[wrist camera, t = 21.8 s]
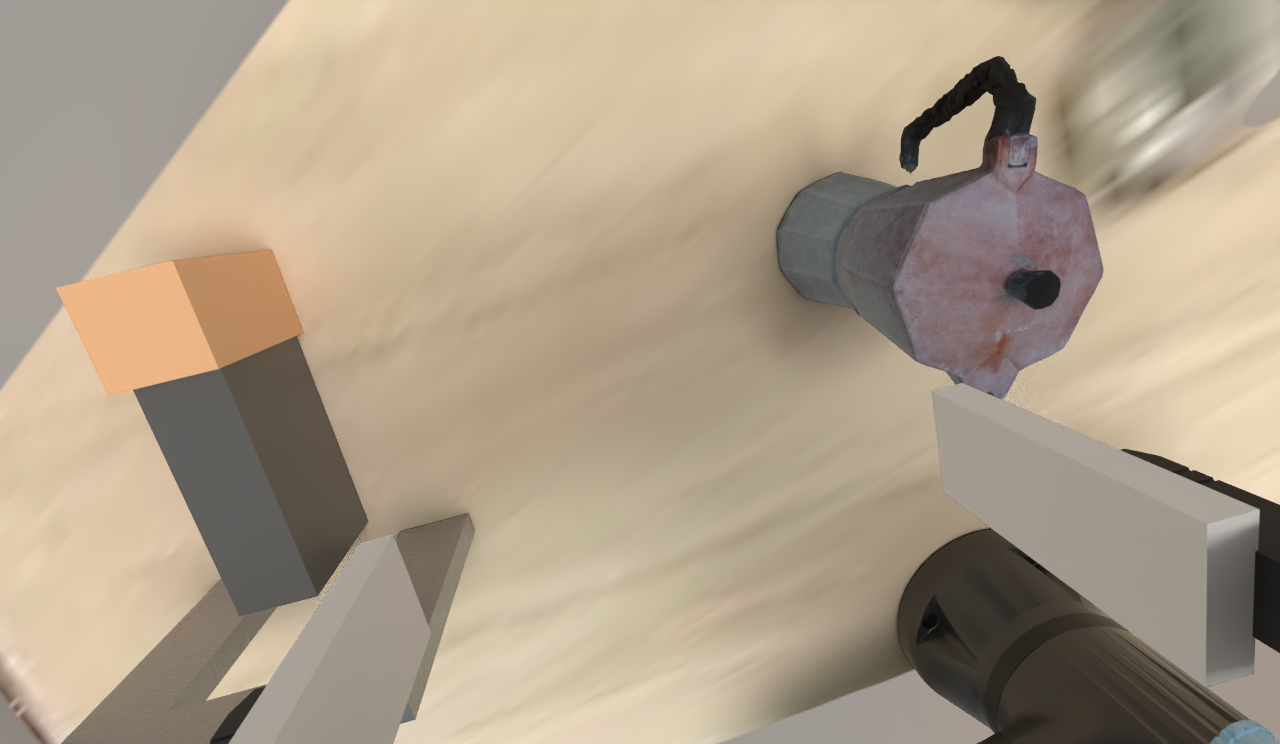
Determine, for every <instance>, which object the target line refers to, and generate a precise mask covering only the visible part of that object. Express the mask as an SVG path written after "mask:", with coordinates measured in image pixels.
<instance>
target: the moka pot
mask: <svg viewBox="0 0 1280 744" xmlns="http://www.w3.org/2000/svg"><path fill="white" fill-rule="evenodd" d="M987 91H988V93H990V94H992V95H993V102H994V105H995V106H996V108H995V113H994V117H993V121H992V125H991V128H990V130H989V132H988V134H987V136H986V138H985V142H984V147H983V162H982V164H981V166H980V167H979V168H976V169H972V170H968V171H963V172H959V173H955V174H951V175H947V176H943V177H938V178H933V179H930V180H924V181H921V182H916V183H915V184H914V185H913V186H909V185H904V186H900V187H895V186H893V185H889V184H887V183H884V182H880V181H876V180H872V179H869V178H864V177H859V176H855V175H850V174H845V173H842V172H838V173H835V174H833V175H830V176H828V177H825V178H824V179H821V180H819V181H817V182H815V183H813V184H811V185H810V186H808V187H807V188H805V189H804V190H802V191H801V192H800V193H799V194H798V195H797V197H796V198H795V199H794V201H793V202H792V204H791V206H790V207H789V209H788V211H787V212H786V214H785V216H784V218H783V220H782V222H781V224H780V225H779V228H778V236H777V246H778V256H779V260H778V262H779V265H780V268H781V271H782V272H783V274H784V275H785V277H786V279H787V280H788V281H789V282H790V283H791V284H792V286H793V287H794V288H795V289H796V291H797V292H798V293H799V294H800V295H802V296H803V297H804V298H805V299H809V300H813V301H818V302H823V303H828V304H833V305H839V306H844V307H849V308H853V309H854V310H855V311H856V312H857V314H858V315H859V316H861V317H863V318H864V319H865V320H866V321H867V322H869V323H870V324H871V325H872V326H874V327H875V328H876V329H877V330H878V331H880V332H881V333H882V334H883V335H884V336H886V337H887V338H888V339H889V340H891V341H892V342H893V343H894V344H896V345H897V346H898V347H899V348H901V349H902V350H903V351H904V352H905V353H907V354H908V355H909V356H910V357H911V358H912V359H914V360H915V361H917V362H919V363H921V364H924V365H927V366H930V367H933V368H936V369H939V370H943V371H946V372H947V373H948V375H949V376H950V377H951V379H952V380H953V382H954V383H955V385H956V384H960V383H963V384H966V385H968V386H971V387H973V388H975V389H978V390H980V391H982V392H985V393H987V394H989V395H992V396H994V397H996V398H999V399H1001V400H1002V399H1003V398H1005V396H1006V394H1007V393H1008V391H1009V389H1010V387H1011V385H1012V384H1013V382H1014V380H1015V378H1016V376H1017V374H1018V372H1019V371H1020V370H1022V369H1023V368H1025V367H1027V366H1029V365H1031V364H1033V363H1036V362H1038V361H1040V360H1042V359H1045V358H1047V357H1049V356H1050V355H1052V354H1054V353H1056V352H1058V351H1060V350H1061V349H1063V347H1064V346H1065V344H1066V343H1067V341H1068V340H1069V338H1070V336H1071V334H1072V333H1073V331H1074V329H1075V327H1076V325H1077V323H1078V321H1079V319H1080V317H1081V315H1082V313H1083V311H1084V309H1085V307H1086V305H1087V304H1088V302H1089V300H1090V298H1091V297H1092V295H1093V293H1094V291H1095V289H1096V287H1097V285H1098V283H1099V282H1100V280H1101V278H1102V274H1103V265H1102V261H1101V256H1100V252H1099V247H1098V243H1097V239H1096V235H1095V230H1094V226H1093V222H1092V218H1091V214H1090V210H1089V206H1088V202H1087V199H1086V196H1085V194H1083V193H1082V192H1080V191H1079V190H1077V189H1076V188H1073V187H1071V186H1068V185H1065V184H1063V183H1060V182H1058V181H1056V180H1054V179H1050V178H1048V177H1046V176H1044V175H1042V174H1040V173H1038V172H1036V171H1034V170H1035V166H1036V159H1037V145H1038V143H1037V137H1036V136H1033V135H1030V134H1029V132H1030V127H1031V123H1032V119H1033V115H1034V111H1035V105H1036V98H1035V97H1034V96H1032V95H1031V94H1029V93H1028V91H1027V90H1026V88H1025V84H1023V83H1018V82H1017V78H1016V74H1015V72H1014V70H1013V69H1011V68H1010V65H1009V64H1008V63H1007V62H1006V61H1005V59H1004V58H1003V57H1000V56H996V57H994V58H992V59H990V60H988V61H986V62H983V63H981V64H979V65H978V66H976V67H974V68H973V70H972V71H971V72H970V73H969V74H966V75H965V77H964V78H963V79H961V80H960V81H959V82H958V83H957V84H956V85H955V86H954V88H953V89H952V90H950V91H949V92H948V93H947V94H945V95H943V97H942V98H940V99H939V100H938V101H937V102H936V103H935V105H934V106H933V107H932V108H929V109H927V110H925V111H924V112H923V114H922V115H921V116H920V117H917V118H916V119H915V120H914V121H913V122H912V123H910V124H909V125H908V126H906V127H905V128H904V130H903V133H902V137H901V153H900V158H899V160H900V162H901V167H902V168H903V169H906V171H908V172H909V173H911V172H913V171H914V170H915V169H916V167H917V166H918V155H919V145H920V142H921V140H922V139H924V138H926V136H927V135H928V134H929V133H930V132H931V130H932V129H933V128H934V127H938V126H940V125H942V124H944V123H945V122H947V121H950V119H951V118H952V116H954V115H956V114H958V113H959V112H961V111H962V110H963V109H964V108H965V107H966V106H971V105H972V104H973V103H974V102H975V101H976V100H978V99H979V98H980V97H981V96H982V95H983V94H984V93H985V92H987Z"/></svg>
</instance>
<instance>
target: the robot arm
mask: <svg viewBox="0 0 1280 744" xmlns="http://www.w3.org/2000/svg"><path fill="white" fill-rule="evenodd" d="M932 397H933V405H934V414H935V423H936V431H937V440H938V449H939V457H940V466H941V474H942V483H943V492H944V493H945V494H946V495H947V496H949V497H950V498H951V499H953V500H954V501H955V502H957V503H958V504H959V505H961V506H962V507H963V508H965V509H966V510H967V511H969V512H970V513H971V514H973V515H974V516H975V517H977V518H978V519H979V520H981V521H982V522H984V523H985V524H986V525H988V526H989V527H990V528H992V529H990V530H984V531H979V532H976V533H972V534H969V535H966V536H964V537H962V538H959V539H957V540H955V541H953V542H952V543H950V544H948V545H947V546H945V547H944V548H942V549H941V550H939V551H938V552H937V553H935V554H934V555H933V556H932V557H931V558H930V559H929V560H928V561H927V562H926V563H925V564H924V565H923V566H922V567H921V568H920V569H919V571H918V572H917V573H916V575H915V576H914V577H913V579H912V581H911V582H910V584H909V586H908V588H907V590H906V592H905V594H904V596H903V599H902V602H901V606H900V610H899V615H898V635H899V640H900V644H901V647H902V650H903V652H904V654H905V656H906V657H907V659H908V660H909V662H910V663H911V665H912V666H913V667H914V669H915V670H916V671H917V672H918V674H919V675H920V676H921V678H922V679H923V680H924V681H925V682H926V683H927V684H928V685H929V686H930V687H931V688H932V689H933V690H934V691H935V692H937V693H938V694H939V695H941V696H942V697H944V698H945V699H947V700H949V701H950V702H951V703H953V704H954V705H956V706H957V707H959V708H961V709H962V710H963V711H965V712H966V713H968V714H970V715H971V716H972V717H974V718H976V719H977V720H978V721H980V722H982V723H983V724H984V725H986V726H987V727H989V728H990V729H992V731H993V732H994V733H995V734H994V735H992V736H990V737H989V738H987V739H985V740H983V741H982V742H979V743H977V744H1279V742H1278V740H1277V739H1275V737H1274V736H1273V735H1272V733H1270V731H1269V730H1267V729H1266V728H1265V727H1263V726H1261V725H1260V724H1258V723H1257V722H1255V721H1252V720H1250V719H1248V718H1247V717H1246V716H1244V715H1243V714H1242V713H1240V712H1239V711H1237V710H1236V709H1234V708H1233V707H1232V706H1231V705H1229V704H1228V703H1226V702H1225V701H1223V700H1222V699H1221V698H1220V697H1218V696H1217V695H1216V694H1214V693H1213V692H1211V691H1210V690H1209V689H1207V688H1206V687H1210V686H1213V685H1217V684H1220V683H1223V682H1227V681H1230V680H1234V679H1237V678H1241V677H1244V676H1247V675H1251V674H1254V655H1255V638H1256V639H1258V640H1260V641H1261V642H1263V643H1264V644H1266V645H1268V646H1269V647H1271V648H1273V649H1274V650H1276V651H1277V652H1279V653H1280V505H1279V504H1276V503H1274V502H1271V501H1269V500H1266V499H1264V498H1261V497H1259V496H1257V495H1254V494H1252V493H1249V492H1247V491H1244V490H1242V489H1239V488H1237V487H1234V486H1232V485H1230V484H1227V483H1225V482H1222V481H1220V480H1218V481H1214V480H1213V478H1212V477H1210V476H1207V475H1205V474H1203V473H1200V472H1198V471H1195V470H1193V471H1190V470H1189V468H1188V467H1185V466H1183V465H1180V464H1178V463H1175V462H1173V461H1171V460H1168V459H1166V458H1163V457H1161V456H1157V455H1152V454H1147V453H1143V452H1138V451H1133V450H1128V449H1122V450H1119V449H1116V448H1114V447H1112V446H1109V445H1107V444H1105V443H1102V442H1100V441H1097V440H1095V439H1093V438H1090V437H1088V436H1086V435H1083V434H1081V433H1079V432H1076V431H1074V430H1072V429H1069V428H1067V427H1065V426H1062V425H1060V424H1058V423H1055V422H1053V421H1050V420H1048V419H1046V418H1043V417H1041V416H1039V415H1036V414H1034V413H1032V412H1029V411H1027V410H1025V409H1022V408H1020V407H1018V406H1015V405H1013V404H1010V403H1008V402H1006V401H1003V400H1001V399H999V398H996V397H994V396H992V395H989V394H987V393H985V392H982V391H980V390H978V389H975V388H973V387H971V386H968V385H966V384H963V383H960V384H956V385H952V386H948V387H945V388H941V389H937V390H933V391H932ZM1115 620H1116V621H1117V622H1118V623H1119V624H1118V623H1117V622H1116V621H1115ZM1120 624H1121V625H1122V626H1121V625H1120ZM1124 627H1125V628H1126V629H1125V628H1124ZM1128 630H1129V631H1130V632H1129V631H1128ZM1132 633H1133V634H1134V635H1133V634H1132ZM430 635H431V631H430V628H429V626H428V623H427V621H426V618H425V616H424V613H423V610H422V608H421V605H420V603H419V600H418V597H417V595H416V592H415V590H414V587H413V585H412V582H411V579H410V577H409V574H408V572H407V569H406V566H405V564H404V561H403V559H402V556H401V554H400V551H399V548H398V546H397V543H396V541H395V538H394V535H393V534H391V535H388V536H384V537H380V538H376V539H373V540H369V541H365V542H361V543H360V544H359V545H358V547H357V548H356V550H355V552H354V553H353V555H352V556H351V558H350V559H349V561H348V562H347V564H346V565H345V567H344V568H343V570H342V571H341V573H340V574H339V576H338V577H337V579H336V581H335V582H334V584H333V585H332V587H331V588H330V590H329V591H328V593H327V594H326V596H325V597H324V599H323V600H322V602H321V603H320V605H319V606H318V608H317V609H316V611H315V613H314V614H313V616H312V617H311V619H310V620H309V622H308V623H307V625H306V626H305V628H304V629H303V631H302V632H301V634H300V635H299V637H298V638H297V640H296V642H295V643H294V645H293V646H292V648H291V649H290V651H289V652H288V654H287V655H286V657H285V658H284V660H283V661H282V663H281V664H280V666H279V667H278V669H277V670H276V672H275V674H274V675H273V677H272V678H271V680H270V681H269V683H268V684H267V686H264V687H260V688H257V689H254V690H253V691H252V692H251V693H250V694H249V695H248V696H247V697H246V698H245V699H244V700H243V701H242V702H241V703H240V704H239V705H237V706H236V707H235V708H234V709H233V710H232V711H231V712H230V713H229V714H228V715H227V717H226V718H225V719H224V721H223V722H222V724H221V725H220V727H219V728H218V730H217V731H216V732H215V734H214V735H213V737H212V738H211V740H210V744H393V743H394V740H395V737H396V734H397V731H398V728H399V725H400V722H401V720H402V717H403V714H404V711H405V708H406V705H407V702H408V699H409V696H410V693H411V690H412V687H413V685H414V682H415V679H416V676H417V673H418V670H419V667H420V664H421V661H422V658H423V655H424V652H425V649H426V647H427V644H428V641H429V638H430ZM1135 635H1136V636H1137V637H1136V636H1135ZM1139 638H1140V639H1141V640H1140V639H1139ZM1143 641H1144V642H1145V643H1144V642H1143ZM1147 644H1148V645H1147ZM1151 647H1152V648H1151ZM1155 650H1156V651H1155Z"/></svg>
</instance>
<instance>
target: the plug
mask: <svg viewBox="0 0 1280 744" xmlns="http://www.w3.org/2000/svg"><path fill="white" fill-rule="evenodd" d="M56 289H57V291H58V293H59V295H60V297H61V299H62V302H63V304H64V306H65V308H66V310H67V312H68V314H69V316H70V318H71V320H72V322H73V324H74V326H75V328H76V331H77V333H78V335H79V337H80V339H81V341H82V343H83V345H84V347H85V349H86V351H87V353H88V355H89V357H90V360H91V362H92V364H93V366H94V368H95V370H96V372H97V374H98V376H99V378H100V380H101V382H102V384H103V386H104V389H105V391H106V393H107V395H108V396H109V395H113V394H118V393H122V392H126V391H130V390H133V391H134V393H135V395H136V397H137V399H138V402H139V404H140V406H141V408H142V410H143V412H144V414H145V416H146V419H147V421H148V423H149V425H150V427H151V429H152V431H153V433H154V436H155V438H156V440H157V442H158V444H159V446H160V448H161V450H162V453H163V455H164V457H165V459H166V461H167V463H168V465H169V467H170V470H171V472H172V474H173V476H174V478H175V480H176V482H177V484H178V487H179V489H180V491H181V493H182V495H183V497H184V499H185V501H186V504H187V506H188V508H189V510H190V512H191V514H192V516H193V519H194V521H195V523H196V525H197V527H198V529H199V531H200V533H201V536H202V538H203V540H204V542H205V544H206V546H207V548H208V550H209V553H210V555H211V557H212V559H213V561H214V563H215V565H216V567H217V570H218V572H219V574H220V576H221V578H222V580H223V582H224V584H225V587H226V589H227V591H228V593H229V595H230V597H231V599H232V601H233V604H234V606H235V608H236V610H237V612H238V614H239V616H243V615H247V614H251V613H255V612H258V611H262V610H266V609H270V608H274V607H278V606H281V605H285V604H289V603H293V602H297V601H301V600H304V599H308V598H312V597H316V596H318V595H319V593H320V592H321V590H322V589H323V587H324V586H325V584H326V583H327V581H328V580H329V579H330V577H331V576H332V574H333V573H334V571H335V570H336V568H337V567H338V565H339V564H340V562H341V561H342V559H343V558H344V556H345V555H346V553H347V552H348V550H349V549H350V547H351V546H352V545H353V543H354V542H355V540H356V539H357V537H358V536H359V534H360V533H361V531H362V530H363V528H364V527H365V525H366V524H367V522H368V520H367V517H366V514H365V512H364V509H363V507H362V504H361V502H360V499H359V496H358V494H357V491H356V489H355V486H354V483H353V481H352V478H351V476H350V473H349V470H348V468H347V465H346V463H345V460H344V458H343V455H342V452H341V450H340V447H339V445H338V442H337V439H336V437H335V434H334V432H333V429H332V426H331V424H330V421H329V419H328V416H327V414H326V411H325V408H324V406H323V403H322V401H321V398H320V395H319V393H318V390H317V388H316V385H315V382H314V380H313V377H312V375H311V372H310V370H309V367H308V364H307V362H306V359H305V357H304V354H303V351H302V349H301V346H300V344H299V341H298V338H297V335H300V334H302V333H303V330H302V327H301V325H300V322H299V320H298V317H297V314H296V312H295V309H294V306H293V304H292V301H291V299H290V296H289V293H288V291H287V288H286V286H285V283H284V280H283V278H282V275H281V272H280V270H279V267H278V265H277V262H276V259H275V257H274V254H273V252H272V250H265V251H256V252H247V253H237V254H228V255H219V256H209V257H200V258H191V259H181V260H172V261H168V262H164V263H159V264H155V265H151V266H147V267H142V268H138V269H134V270H129V271H125V272H121V273H117V274H112V275H108V276H104V277H100V278H95V279H91V280H87V281H82V282H78V283H74V284H70V285H66V286H61V287H57V288H56Z"/></svg>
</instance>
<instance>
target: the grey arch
mask: <svg viewBox="0 0 1280 744" xmlns="http://www.w3.org/2000/svg"><path fill="white" fill-rule="evenodd" d="M474 532H475V531H474V528H473V525H472V522H471V519H470V517H469V514H464V515H460V516H456V517H453V518H449V519H445V520H441V521H438V522H434V523H430V524H426V525H423V526H419V527H415V528H411V529H408V530H404V531H401V532H400V533H399V535H398V537H397V539H396V543H397V546H398V548H399V551H400V554H401V556H402V559H403V561H404V564H405V566H406V569H407V572H408V574H409V577H410V579H411V582H412V585H413V587H414V590H415V592H416V595H417V597H418V600H419V603H420V605H421V608H422V610H423V613H424V616H425V618H426V621H427V623H428V626H429V628H430V631H431V635H430V638H429V641H428V644H427V647H426V649H425V652H424V655H423V658H422V661H421V664H420V667H419V670H418V673H417V676H416V679H415V682H414V685H413V687H412V690H411V693H410V696H409V699H408V702H407V705H406V708H405V711H404V714H403V717H402V720H401V722H400V724H401V723H405V722H409V721H412V720H415V719H416V716H417V713H418V709H419V706H420V703H421V700H422V697H423V694H424V690H425V687H426V684H427V681H428V678H429V674H430V671H431V668H432V665H433V662H434V659H435V655H436V652H437V649H438V646H439V643H440V640H441V636H442V633H443V630H444V627H445V624H446V621H447V617H448V614H449V611H450V608H451V605H452V601H453V598H454V595H455V592H456V589H457V586H458V582H459V579H460V576H461V573H462V570H463V567H464V563H465V560H466V557H467V554H468V551H469V548H470V544H471V541H472V538H473V535H474ZM276 608H277V607H274V608H270V609H266V610H262V611H258V612H255V613H251V614H247V615H243V616H239V614H238V612H237V610H236V608H235V606H234V604H233V601H232V599H231V597H230V595H229V593H228V591H227V589H226V587H225V584H224V582H223V580H222V579H221V580H220V581H219V582H218V583H217V584H216V585H215V586H214V587H213V588H212V589H211V590H210V591H209V592H208V593H207V594H206V595H205V596H204V597H203V598H202V599H201V601H200V602H199V603H198V604H197V605H196V606H195V607H194V608H193V609H192V610H191V611H190V612H189V613H188V614H187V615H186V616H185V617H184V618H183V619H182V620H181V621H180V622H179V623H178V624H177V625H176V626H175V627H174V628H173V629H172V630H171V631H170V632H169V633H168V634H167V635H166V636H165V637H164V639H163V640H162V641H161V642H160V643H159V644H158V645H157V646H156V647H155V648H154V649H153V650H152V651H151V652H150V653H149V654H148V655H147V656H146V657H145V658H144V659H143V660H142V661H141V662H140V663H139V664H138V665H137V666H136V667H135V668H134V669H133V670H132V671H131V672H130V673H129V674H128V675H127V676H126V678H125V679H124V680H123V681H122V682H121V683H120V684H119V685H118V686H117V687H116V688H115V689H114V690H113V691H112V692H111V693H110V694H109V695H108V696H107V697H106V698H105V699H104V700H103V701H102V702H101V703H100V704H99V705H98V706H97V707H96V708H95V709H94V710H93V711H92V712H91V713H90V714H89V716H88V717H87V718H86V719H85V720H84V721H83V722H82V723H81V724H80V725H79V726H78V727H77V728H76V729H75V730H74V731H73V732H72V733H71V734H70V735H69V736H68V737H67V738H66V739H65V740H64V741H63V742H62V743H61V744H210V740H211V738H212V737H213V735H214V734H215V732H216V731H217V730H218V728H219V727H220V725H221V724H222V722H223V721H224V719H225V718H226V717H227V715H228V714H229V713H230V712H231V711H232V710H233V709H234V708H235V707H236V706H237V705H239V704H240V703H241V702H242V701H243V700H244V699H245V698H246V697H247V696H248V695H249V694H250V693H251V692H252V691H253V690H254V689H257V688H260V687H264V686H267V685H263V686H259V687H256V688H252V689H248V690H245V691H241V692H237V693H234V694H230V695H226V696H223V697H219V698H215V699H212V700H208V701H206V699H207V698H208V697H209V696H210V694H211V693H212V692H213V690H214V689H215V688H216V686H217V685H218V684H219V682H220V681H221V680H222V678H223V677H224V676H225V675H226V673H227V672H228V671H229V669H230V668H231V667H232V665H233V664H234V663H235V661H236V660H237V659H238V657H239V656H240V655H241V654H242V652H243V651H244V650H245V648H246V647H247V646H248V644H249V643H250V642H251V640H252V639H253V638H254V636H255V635H256V634H257V633H258V631H259V630H260V629H261V627H262V626H263V625H264V623H265V622H266V621H267V619H268V618H269V617H270V615H271V614H272V613H273V611H274V610H275V609H276Z"/></svg>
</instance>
